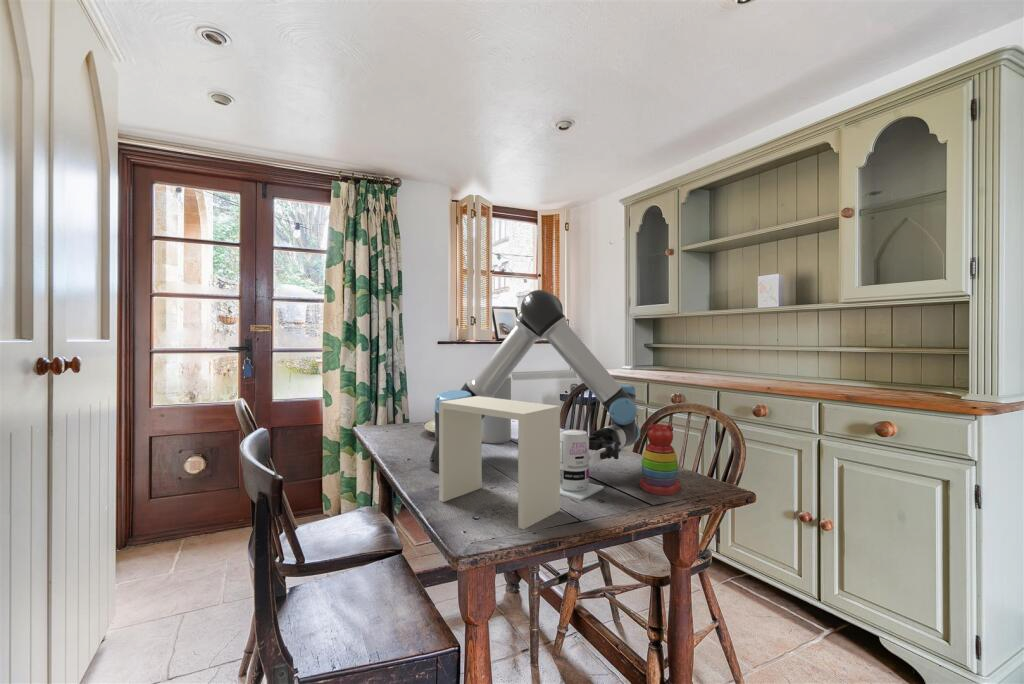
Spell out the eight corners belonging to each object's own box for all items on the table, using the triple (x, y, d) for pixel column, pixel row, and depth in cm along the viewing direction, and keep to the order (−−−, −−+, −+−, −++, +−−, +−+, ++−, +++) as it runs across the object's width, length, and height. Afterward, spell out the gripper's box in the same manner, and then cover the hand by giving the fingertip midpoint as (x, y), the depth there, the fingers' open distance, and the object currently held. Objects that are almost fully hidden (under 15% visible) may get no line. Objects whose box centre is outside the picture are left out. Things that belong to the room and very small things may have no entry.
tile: (581, 500, 119) (581, 498, 119) (542, 490, 126) (542, 488, 126) (604, 488, 128) (604, 486, 128) (566, 479, 136) (566, 477, 136)
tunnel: (523, 529, 101) (523, 413, 101) (439, 500, 118) (439, 401, 118) (559, 510, 112) (560, 406, 112) (477, 486, 129) (477, 396, 129)
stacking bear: (680, 485, 130) (681, 421, 130) (681, 497, 121) (681, 428, 120) (640, 481, 134) (640, 419, 134) (637, 493, 124) (638, 426, 124)
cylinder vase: (481, 436, 191) (481, 375, 191) (512, 437, 190) (512, 375, 189) (476, 443, 179) (476, 378, 178) (509, 444, 177) (509, 378, 177)
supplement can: (570, 480, 133) (571, 427, 133) (594, 487, 127) (595, 432, 127) (551, 487, 127) (552, 432, 127) (576, 494, 122) (576, 436, 121)
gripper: (647, 459, 134) (612, 477, 117) (572, 445, 150) (532, 459, 133) (647, 433, 134) (612, 447, 117) (573, 422, 149) (532, 433, 133)
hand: (569, 453), depth 125 cm, fingers open, 13 cm apart
